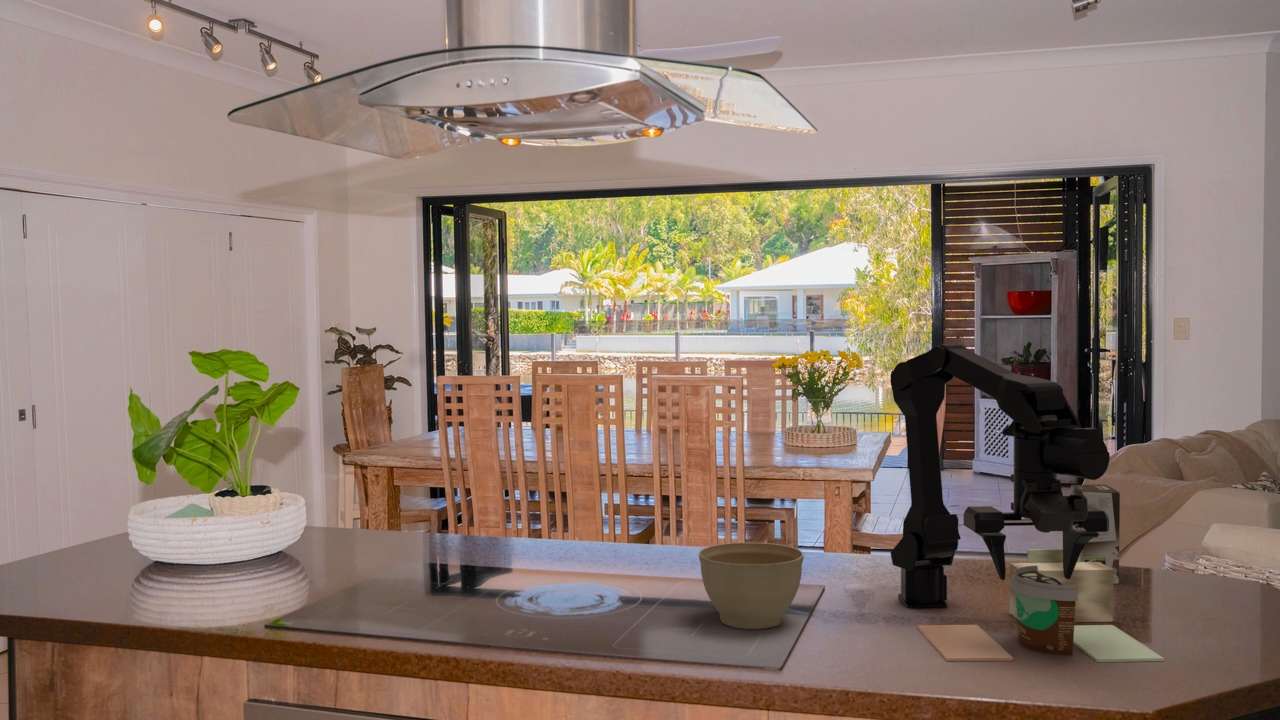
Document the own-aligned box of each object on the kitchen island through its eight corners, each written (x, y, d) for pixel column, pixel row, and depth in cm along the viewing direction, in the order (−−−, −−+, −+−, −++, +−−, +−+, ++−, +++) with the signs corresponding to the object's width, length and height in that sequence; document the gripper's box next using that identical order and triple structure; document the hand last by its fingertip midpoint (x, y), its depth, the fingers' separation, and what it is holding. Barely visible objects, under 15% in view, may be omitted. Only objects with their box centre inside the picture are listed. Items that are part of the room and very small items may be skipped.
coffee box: (1120, 584, 176) (1121, 492, 176) (1081, 583, 178) (1081, 491, 177) (1107, 571, 185) (1108, 483, 185) (1070, 570, 187) (1070, 483, 186)
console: (1021, 622, 155) (1021, 557, 155) (1008, 612, 161) (1008, 549, 160) (1113, 621, 155) (1113, 556, 155) (1096, 611, 161) (1097, 548, 160)
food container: (995, 632, 150) (995, 565, 150) (1035, 631, 151) (1035, 564, 151) (1034, 660, 138) (1034, 587, 138) (1078, 658, 139) (1078, 586, 138)
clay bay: (947, 661, 138) (947, 658, 138) (917, 628, 153) (917, 625, 153) (1013, 660, 138) (1013, 657, 138) (976, 627, 153) (976, 624, 153)
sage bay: (1097, 662, 137) (1097, 659, 137) (1052, 628, 152) (1052, 625, 152) (1164, 661, 137) (1164, 658, 137) (1112, 627, 152) (1112, 625, 152)
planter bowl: (824, 620, 158) (824, 551, 157) (760, 645, 146) (759, 570, 146) (743, 601, 169) (743, 536, 169) (678, 622, 158) (677, 553, 157)
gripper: (988, 479, 136) (988, 595, 136) (1128, 478, 136) (1127, 593, 136) (962, 467, 147) (962, 574, 147) (1091, 466, 147) (1090, 573, 147)
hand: (1034, 579), depth 144 cm, fingers open, 9 cm apart
